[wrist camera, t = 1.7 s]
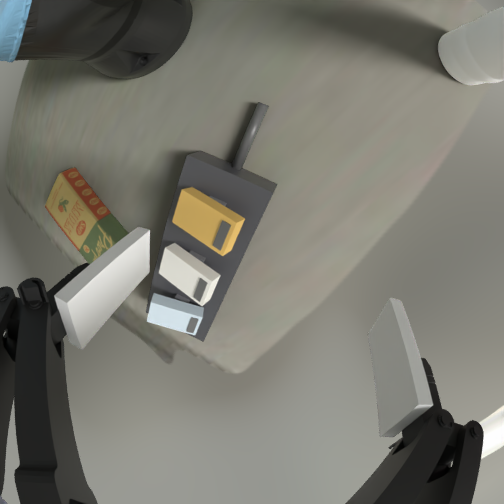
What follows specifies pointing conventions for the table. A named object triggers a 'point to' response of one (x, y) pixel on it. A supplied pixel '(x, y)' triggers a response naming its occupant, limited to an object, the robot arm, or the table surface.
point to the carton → (83, 216)
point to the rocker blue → (175, 314)
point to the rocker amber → (207, 220)
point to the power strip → (229, 195)
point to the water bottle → (475, 50)
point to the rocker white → (188, 274)
